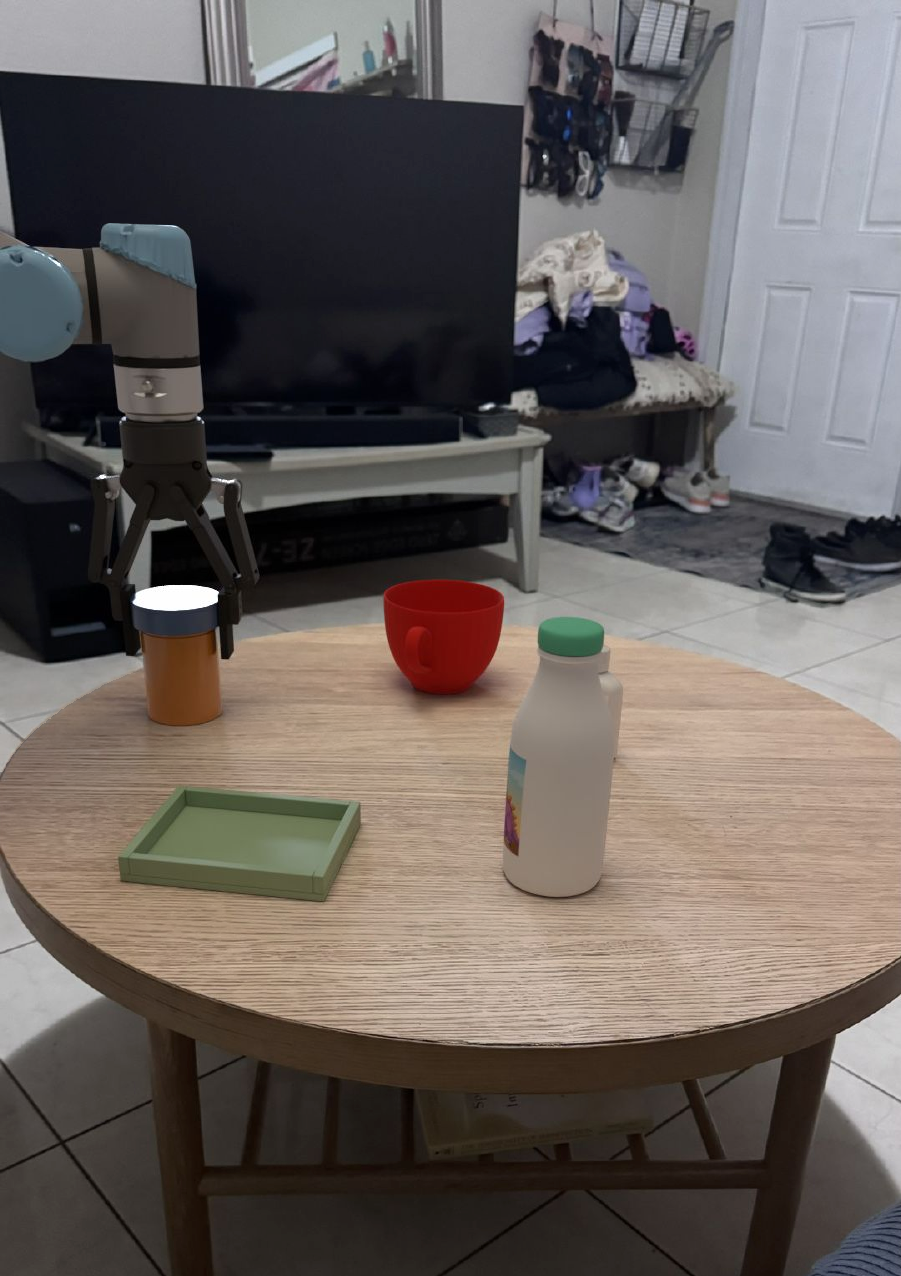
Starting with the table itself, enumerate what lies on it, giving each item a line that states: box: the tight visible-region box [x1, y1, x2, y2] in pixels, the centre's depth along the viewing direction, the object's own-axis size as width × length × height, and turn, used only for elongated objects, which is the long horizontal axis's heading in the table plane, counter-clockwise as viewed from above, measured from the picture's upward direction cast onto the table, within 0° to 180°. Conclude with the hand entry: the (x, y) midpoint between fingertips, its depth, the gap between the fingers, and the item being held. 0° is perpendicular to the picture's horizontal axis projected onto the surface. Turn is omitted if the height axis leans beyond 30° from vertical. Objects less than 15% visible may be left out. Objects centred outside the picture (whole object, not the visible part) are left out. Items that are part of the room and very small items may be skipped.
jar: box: [140, 627, 223, 727], centre depth 112 cm, size 7×7×11 cm
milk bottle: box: [502, 616, 615, 898], centre depth 82 cm, size 8×8×20 cm
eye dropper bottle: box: [598, 642, 624, 759], centre depth 105 cm, size 4×6×12 cm
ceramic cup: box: [382, 579, 505, 695], centre depth 120 cm, size 13×17×10 cm
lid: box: [130, 584, 219, 636], centre depth 109 cm, size 9×9×2 cm
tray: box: [117, 784, 362, 902], centre depth 88 cm, size 16×13×2 cm
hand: (180, 653), depth 111 cm, fingers closed on lid, 9 cm apart
